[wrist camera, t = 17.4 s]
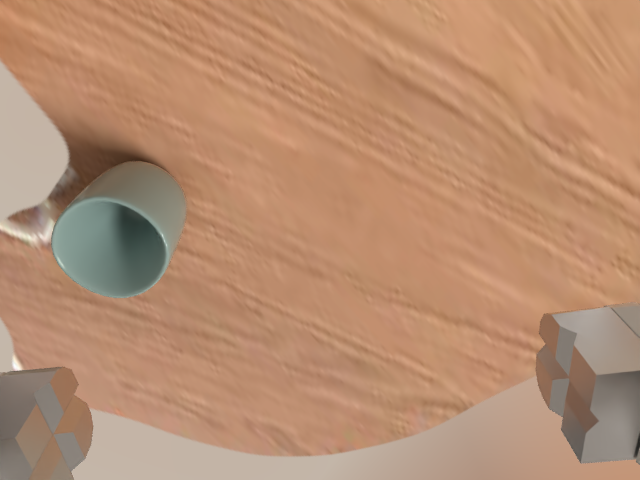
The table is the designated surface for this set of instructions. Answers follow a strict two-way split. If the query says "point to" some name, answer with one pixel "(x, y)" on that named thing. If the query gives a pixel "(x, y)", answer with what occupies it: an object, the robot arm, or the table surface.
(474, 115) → the table surface
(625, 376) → the robot arm
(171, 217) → the cup
